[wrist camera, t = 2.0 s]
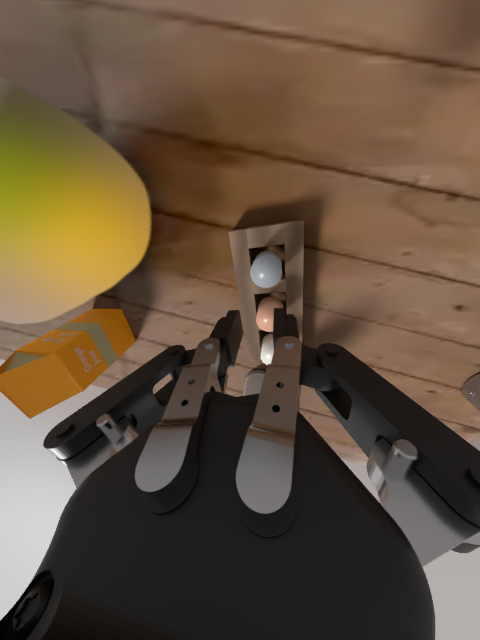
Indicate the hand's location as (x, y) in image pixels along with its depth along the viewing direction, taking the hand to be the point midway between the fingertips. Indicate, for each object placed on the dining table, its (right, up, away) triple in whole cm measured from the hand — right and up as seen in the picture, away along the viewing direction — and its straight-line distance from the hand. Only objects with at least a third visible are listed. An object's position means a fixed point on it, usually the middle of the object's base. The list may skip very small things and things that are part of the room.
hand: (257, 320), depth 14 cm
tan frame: (+4, +4, +20) cm, 20 cm away
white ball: (+5, -4, +20) cm, 21 cm away
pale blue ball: (+3, +8, +13) cm, 16 cm away
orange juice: (-30, -1, +30) cm, 42 cm away
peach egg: (+4, +2, +17) cm, 17 cm away
